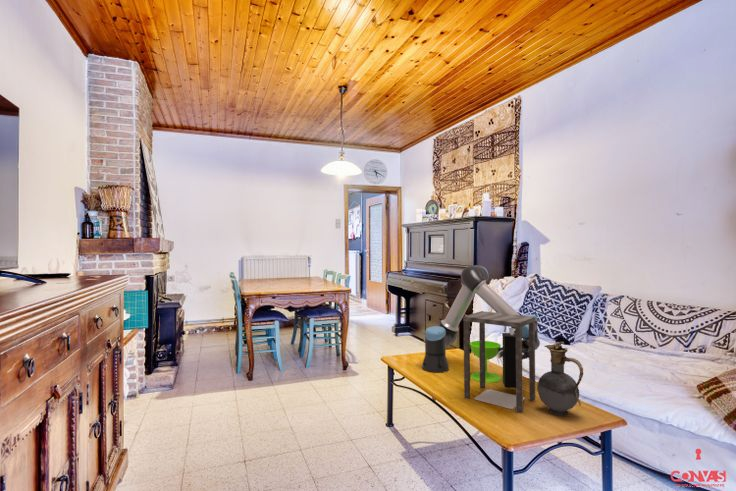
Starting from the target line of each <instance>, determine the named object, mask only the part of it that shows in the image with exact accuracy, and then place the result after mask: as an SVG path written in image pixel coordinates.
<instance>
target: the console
mask: <svg viewBox="0 0 736 491" xmlns="http://www.w3.org/2000/svg"><path fill="white" fill-rule="evenodd" d="M523 315H524V314H522V315H521V314H520V315H514V314H504V313H496V312H495V311H494V312H493V311H492V312H491V311H483V310H480V311H477V312H474V313H470V314H467V315H464V316H463V318H462V321H463V379H464V380H463V394H464V395H463V397H464V399H467V400H469V399H471V378H470V375H471V351H470V350H471V348H470V342H471V336H470V335H471V333H470V332H471V330H470V326H471V323H478V324H479V326H478V327H479V332H478V333H479V336H478V337H479V340H478V341H480V358H479V372H480V382H479V389H483V390H484V391H482V392H481V393H480V394H478V395H476V396H475V397H474V398H473V400H475V401H479V402H484V403H486V404H490V405H494V406H497V407H502V408H505V409H510V410H515V412H516V413H520V414H522V413H523V412H524V410H523V409H524V408H523V407H524V406H523V404H524V402H523V401H525V400H526V397H525V396H523V393H524V392H523V360H522V340H523V338H522V327H523V326H525V325H527V324H529V358H528V377H529V379H528V380H529V382H528V383H529V384H528V385H529V389H528V391H529V394H528V395H529V401H531V402H532V401H533V402H535V401H536V350H535V317H533V316H523ZM486 325H493V326H494V325H495V326H502V327H508V328H512V327H516V332H515V333H516V388H515V394H511V393H508V392H503V391H498V390H494V389H492V388H491V389H489V388H487V389H486V383H485V341H486ZM485 389H486V390H485ZM515 408H516V409H515Z"/></svg>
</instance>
